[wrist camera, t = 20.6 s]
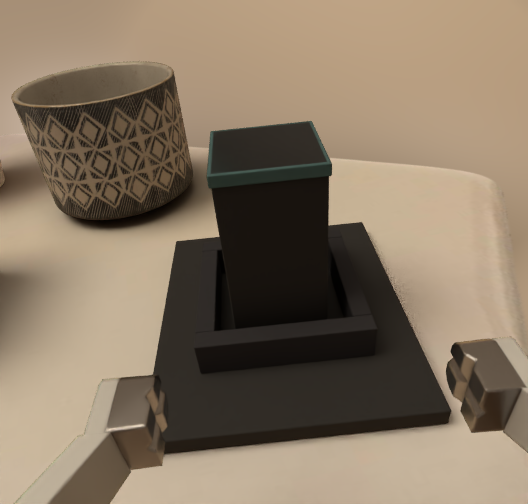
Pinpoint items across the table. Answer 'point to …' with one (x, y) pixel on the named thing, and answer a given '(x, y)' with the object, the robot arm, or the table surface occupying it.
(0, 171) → the cup
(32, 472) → the table surface
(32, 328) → the table surface
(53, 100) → the planter
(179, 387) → the base pad
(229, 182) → the pad block
